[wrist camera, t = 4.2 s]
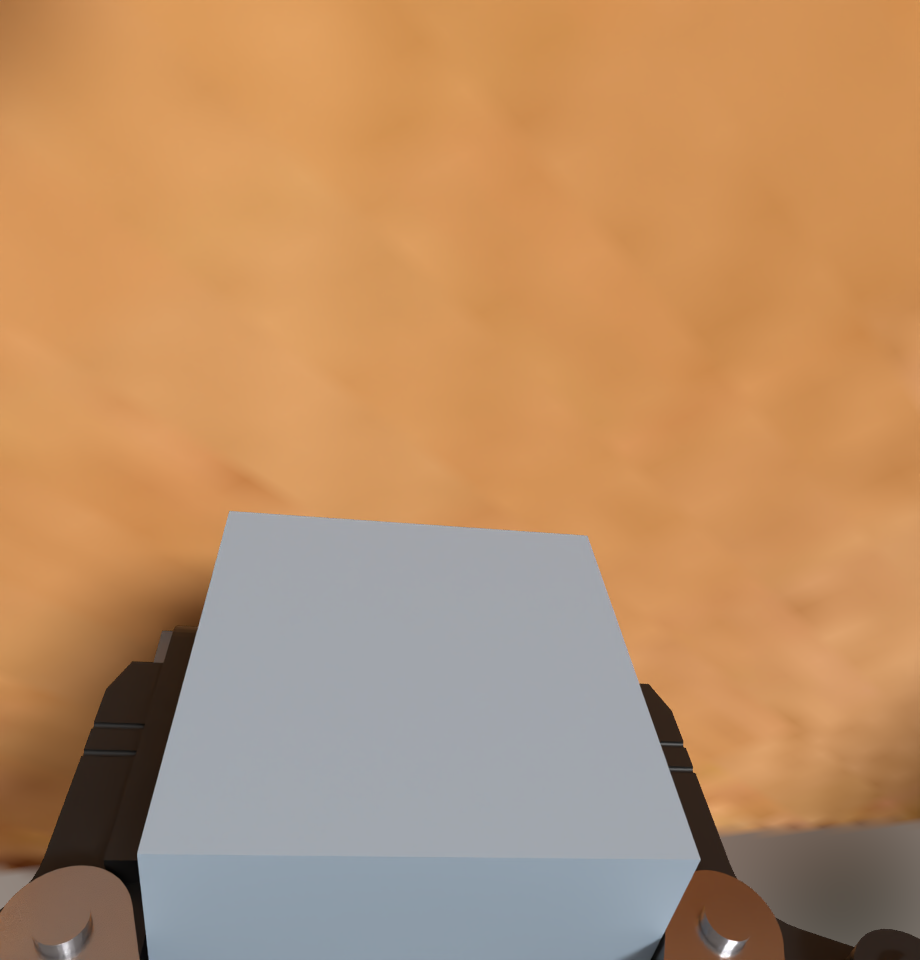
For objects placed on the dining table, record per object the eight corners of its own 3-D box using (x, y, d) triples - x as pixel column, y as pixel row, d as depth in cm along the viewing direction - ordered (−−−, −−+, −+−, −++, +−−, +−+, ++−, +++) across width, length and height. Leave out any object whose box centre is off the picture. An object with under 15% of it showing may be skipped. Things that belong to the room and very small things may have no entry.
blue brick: (587, 535, 12) (699, 859, 8) (523, 763, 14) (581, 1096, 10) (229, 510, 11) (137, 854, 7) (231, 755, 14) (166, 1109, 10)
